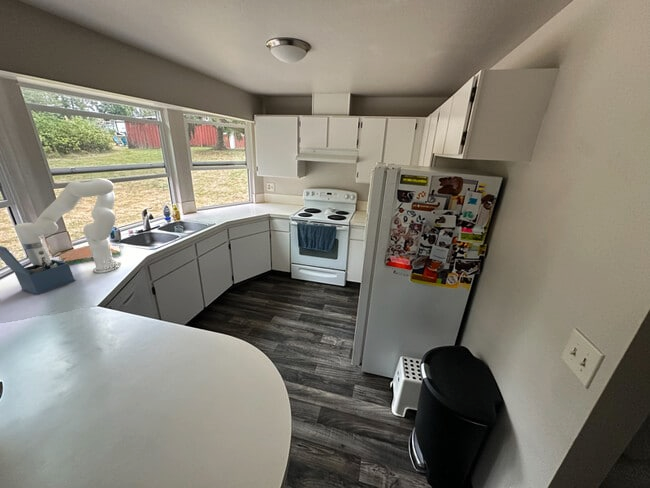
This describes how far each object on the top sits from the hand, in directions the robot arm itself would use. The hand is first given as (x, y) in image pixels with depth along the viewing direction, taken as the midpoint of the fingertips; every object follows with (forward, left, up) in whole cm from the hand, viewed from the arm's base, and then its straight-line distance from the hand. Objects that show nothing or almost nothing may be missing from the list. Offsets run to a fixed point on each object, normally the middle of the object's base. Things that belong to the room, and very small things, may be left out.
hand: (44, 273), depth 143 cm
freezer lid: (+5, +8, +13) cm, 17 cm away
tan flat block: (+1, -44, -8) cm, 45 cm away
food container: (0, 0, -6) cm, 6 cm away
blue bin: (0, 0, -7) cm, 7 cm away
